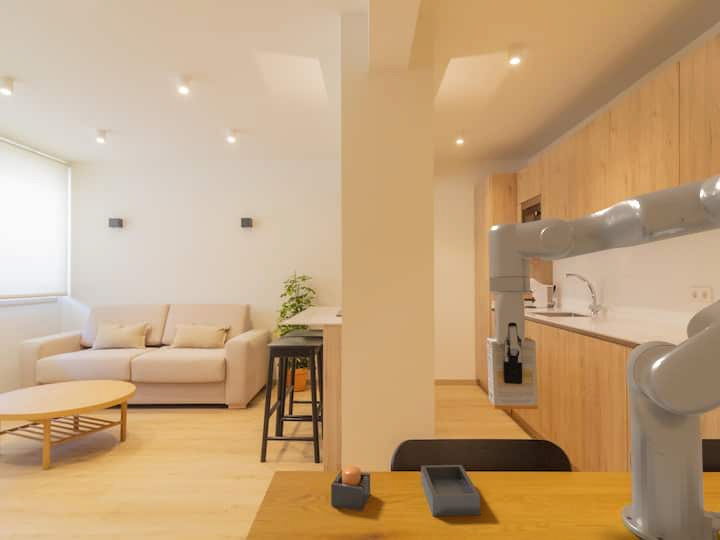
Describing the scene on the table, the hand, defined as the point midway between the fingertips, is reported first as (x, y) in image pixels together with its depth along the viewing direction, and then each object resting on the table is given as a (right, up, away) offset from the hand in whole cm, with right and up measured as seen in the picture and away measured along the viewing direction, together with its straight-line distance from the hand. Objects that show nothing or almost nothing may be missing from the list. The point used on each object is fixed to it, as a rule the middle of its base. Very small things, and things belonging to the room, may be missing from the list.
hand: (511, 378), depth 75 cm
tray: (-12, -23, 0) cm, 26 cm away
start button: (-31, -22, -1) cm, 38 cm away
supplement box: (0, -6, 0) cm, 6 cm away
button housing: (-31, -23, -1) cm, 39 cm away
